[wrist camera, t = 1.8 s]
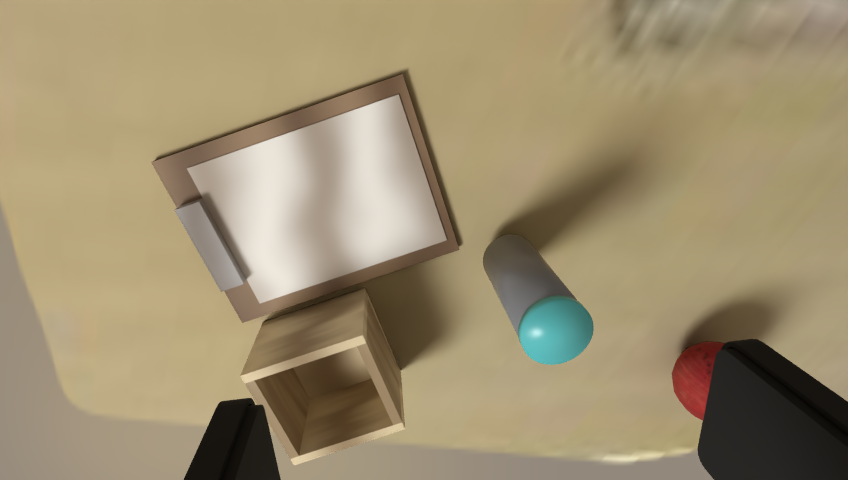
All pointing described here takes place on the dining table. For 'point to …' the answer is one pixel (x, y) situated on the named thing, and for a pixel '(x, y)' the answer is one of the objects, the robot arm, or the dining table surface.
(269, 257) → the clipboard
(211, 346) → the dining table surface
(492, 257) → the cylinder
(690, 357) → the onion
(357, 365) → the wooden box
